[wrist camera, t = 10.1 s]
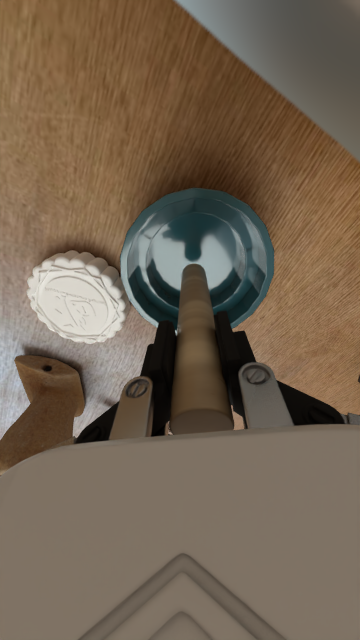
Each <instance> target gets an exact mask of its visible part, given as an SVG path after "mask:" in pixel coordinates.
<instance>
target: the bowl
mask: <svg viewBox="0 0 360 640" xmlns="http://www.w3.org/2000/svg"><path fill="white" fill-rule="evenodd" d="M189 264H199V265H201V266H202V267H203V268H204V270H205V272H206V278H207V283H208V288H209V293H210V299H211V304H212V309H213V314H214V315H217V312H220V311H227V314H228V318H229V321H230V325H231V328H235V327H236V326H238V325H239V324H240V323H242V322H243V321H244V320H245V319H247V318H248V317H249V316H251V315H252V314H253V313H254V311H255V310H256V309H257V307H258V306H259V305H260V303H261V302H262V301H263V299H264V298H265V296H266V294H267V292H268V289H269V286H270V283H271V280H272V278H273V274H274V248H273V245H272V242H271V239H270V236H269V233H268V230H267V227H266V225H265V224H264V223H263V222H262V220H261V219H260V218H259V217H258V216H257V214H256V213H255V212H254V211H253V210H252V208H251V207H250V206H249V205H248V204H246V203H244V202H242V201H241V200H239V199H237V198H235V197H233V196H232V195H230V194H228V193H226V192H224V191H219V190H213V189H205V188H197V187H194V188H193V187H192V188H188V189H184V190H180V191H176V192H172V193H169V194H167V195H165V196H163V197H162V198H160V199H159V200H157V201H156V202H154V203H153V204H152V205H150V206H149V207H147V208H146V209H144V210H143V211H142V212H141V214H140V215H139V216H138V218H137V219H136V221H135V222H134V223H133V225H132V226H131V227H130V229H129V230H128V232H127V234H126V238H125V241H124V245H123V248H122V251H121V255H120V266H121V280H122V283H123V286H124V288H125V291H126V294H127V296H128V299H129V301H130V302H131V303H132V305H133V306H134V307H135V309H136V310H137V311H138V312H139V314H140V315H141V316H142V317H143V318H144V319H146V320H147V321H148V322H150V323H151V324H152V325H154V326H155V327H157V328H158V323H159V321H163V320H169V322H173V325H174V329H175V332H176V336H177V325H178V314H179V302H180V290H181V278H182V271H183V269H184V268H185V267H186V266H187V265H189Z"/></svg>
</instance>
